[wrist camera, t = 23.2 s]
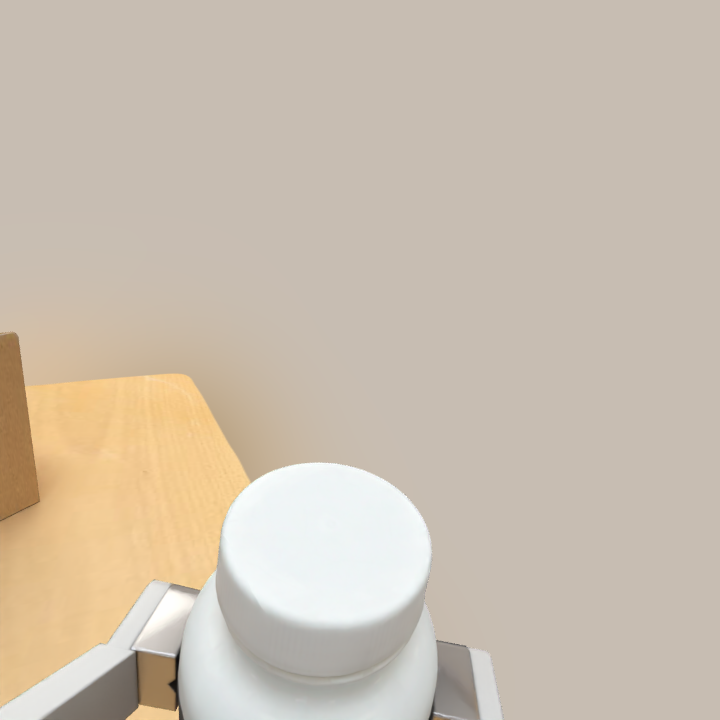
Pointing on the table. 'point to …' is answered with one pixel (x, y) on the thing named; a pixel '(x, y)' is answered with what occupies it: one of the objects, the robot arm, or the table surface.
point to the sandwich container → (14, 433)
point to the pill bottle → (314, 605)
